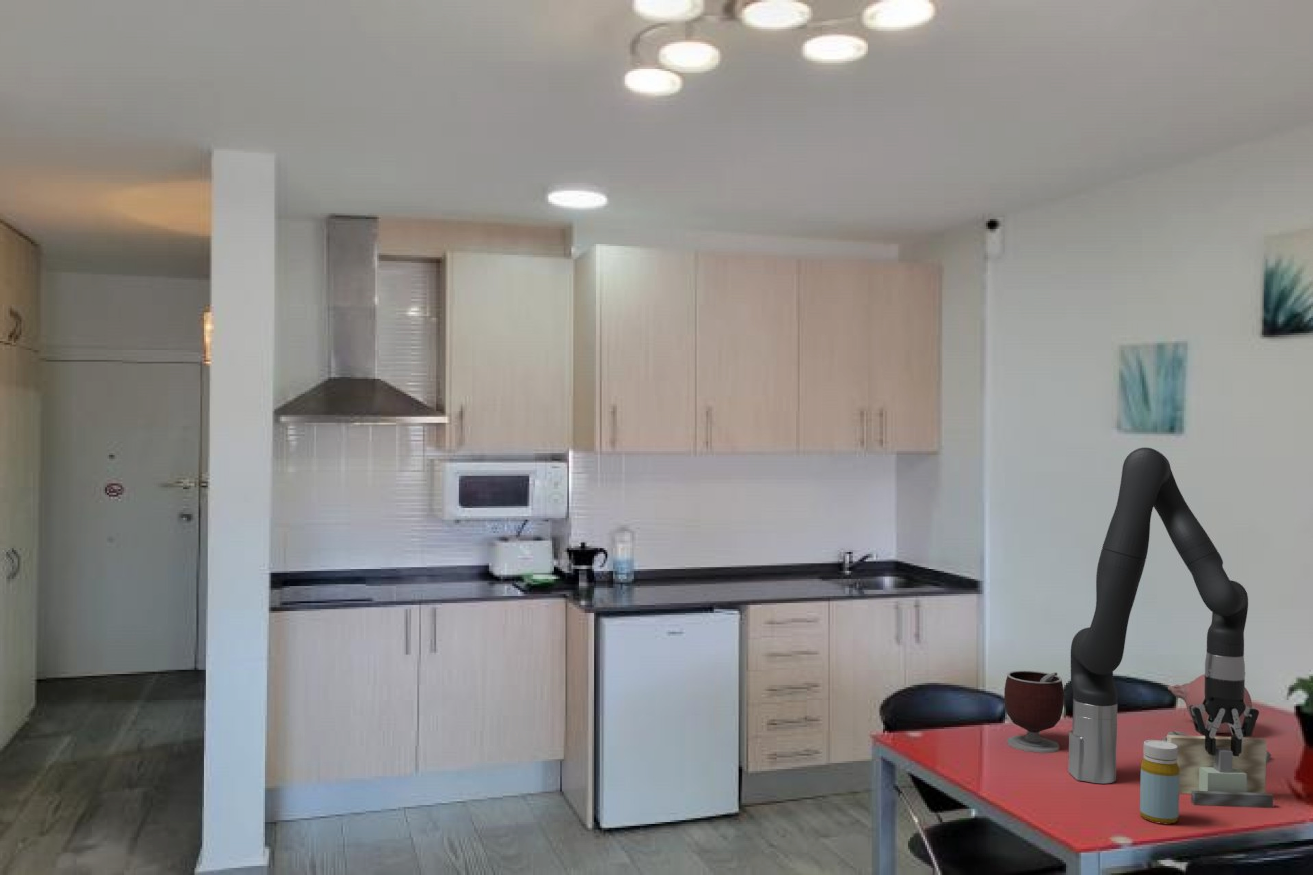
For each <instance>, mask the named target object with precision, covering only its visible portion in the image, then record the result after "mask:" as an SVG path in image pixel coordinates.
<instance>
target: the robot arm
mask: <svg viewBox="0 0 1313 875" xmlns="http://www.w3.org/2000/svg"><path fill="white" fill-rule="evenodd" d="M1171 468H1172V467H1171V465H1170V462H1169V460H1168V458H1167V457H1166V456H1165V455H1164V454H1163V453H1161V452H1160V451H1158V450H1157V449H1154V448H1151V447H1139V448H1137V449H1134V450H1133V451H1131V452H1130V453H1129V454H1128V455H1127V456H1126V457H1125V459H1124V461H1123V464H1122V470H1121V471H1122V472H1121V478H1120V483H1119V484H1120V485H1119V491H1118V496H1117V502H1116V506H1115V510H1114V512H1113V514H1112V517H1111V520H1110V522H1109V525H1108V529H1107V532H1106V534H1105V539H1104V541H1103V544H1102V546H1101V547H1102V548H1101V550H1100V553H1099V554H1100V556H1099V557H1098V563H1097V567H1096V576H1095V577H1096V579H1095V581H1096V582H1095V584H1096V585H1095V586H1096V587H1095V588H1096V589H1095V590H1096V592H1095V595H1096V599H1095V601H1096V602H1095V610H1094V614H1093V617H1092V620H1091V623H1090V626H1089V627H1085V628H1082V629H1080V630H1079V631H1078V632H1076V634H1075V635H1074V637H1072V638H1073V639H1072V642H1071V646H1070V683H1071V687H1072V693H1073V694H1072V729H1071V730H1069V731H1068V732H1069V733H1068V773H1069V774H1070V775H1071V776H1072V777H1073V778H1075V780H1076V781H1083V782H1087V783H1092V784H1111V783H1112V784H1113V783H1114V782H1116V781H1117V748H1118V747H1117V746H1118V745H1117V739H1118V738H1117V737H1118V736H1117V735H1118V731H1117V730H1118V697H1119V696H1118V695H1119V694H1118V690H1117V688H1116V685H1115V681H1114V671H1115V670H1116V669H1117V668H1118V667H1119V666H1120V664H1121V662H1122V660H1123V657H1124V653H1125V644H1126V637H1127V630H1128V627H1129V626H1128V624H1129V621H1130V615H1131V611H1132V609H1133V606H1134V602H1135V600H1136V595H1137V593H1138V588H1139V585H1140V581H1141V578H1142V575H1143V572H1144V569H1145V565H1146V562H1147V558H1148V557H1147V556H1148V550H1149V544H1150V535H1151V534H1150V533H1151V531H1150V530H1151V519H1152V513H1153V509H1154V510H1155V511H1156V512H1157V514H1158V516H1159V518H1160V520H1161V521H1162V523H1163V525H1164V528H1165V529H1166V532H1167V533H1168V536H1169V538H1170V539H1171V542H1172V544H1173V546H1174V548H1175V549H1176V551H1177V553H1178V554H1179V556H1180V558H1181V559H1182V561H1183V563H1184V564H1185V566H1186V568H1187V570H1188V571H1189V572H1190V574H1191V576H1192V579H1193V580H1194V581H1193V582H1194V584H1195V586H1196V589H1197V591H1198V593H1199V596H1200V598H1201V600H1202V602H1203V603H1204V605H1205V607H1207V608H1208V610H1209V611H1211V612H1212V614H1211V622H1210V626H1209V627H1208V629H1207V634H1206V654H1205V656H1206V657H1205V662H1204V674H1205V690H1204V693H1205V699H1204V701H1203V703H1202V704H1201V705H1197V706H1194V705H1191V706H1190V707H1189V709H1190V712H1191V716H1192V717H1191V716H1190V717H1191V719H1192V722H1193V726H1194V729H1195V731H1196V732H1197V733H1199V734H1200V735H1201V736H1205V750H1206V751H1207V752H1208V754H1210V755H1211V756H1215V754H1216V739H1215V738H1214V737H1216V735H1217V733H1216V731H1217V729H1218V728H1219V727H1220V724H1221V723H1228V725H1229V726H1230V729H1231V732H1230V733H1231V735H1232V736H1230V737H1231V751H1232V752H1233V756H1239V754H1241V752H1242V738H1243V737H1246V738H1247V737H1251V736H1252V734H1253V732H1254V728H1255V726H1256V723H1257V720H1258V717H1259V714H1260V711H1259V709H1256V708H1255V707H1253V706H1252V707H1247V706H1246V705H1245V703H1244V689H1245V688H1246V687H1245V683H1246V682H1245V679H1246V678H1245V677H1246V665H1245V656H1244V655H1245V635H1244V634H1245V628H1246V623H1247V618H1248V610H1249V596H1248V592H1247V590H1246V588H1245V587H1244V586H1243V585H1242V584H1241V583H1240V582H1237V581H1236V580H1230V578H1229V577H1228V574H1227V572H1226V570H1225V569H1224V566H1223V565H1224V561H1223V558H1222V556H1221V554H1220V553H1219V551H1218V549H1217V547H1216V546H1215V544H1214V543H1213V541H1212V539H1211V538H1210V536H1209V535H1208V534H1207V532H1206V530H1205V529H1204V527H1203V526H1202V525H1201V523H1200V522H1199V520H1198V518H1197V517H1196V516H1195V514H1194V513H1193V511H1192V510H1191V508H1190V507H1189V505H1188V504H1187V502H1186V501H1185V498H1184V497H1183V494H1182V493H1181V491H1180V489H1179V487H1178V484H1177V482H1176V479H1175V477H1174V474H1173V471H1172V469H1171ZM1204 710H1205V711H1206V712H1207V714H1208V717H1207V720H1206V727H1205V725H1204V722H1203V718H1202V715H1203V714H1204V713H1203V711H1204ZM1243 712H1244V715H1245V718H1244V721H1243V724H1242V727H1241V723H1240V720H1239V717H1240V716H1241V715H1242V713H1243Z"/></svg>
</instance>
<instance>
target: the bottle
mask: <svg viewBox="0 0 1313 875" xmlns="http://www.w3.org/2000/svg"><path fill="white" fill-rule="evenodd" d="M1142 751H1143V758H1142V762H1141V764H1140V785H1139V786H1140V790H1139V792H1140V794H1139V795H1140V797H1139V813H1140V816H1142V818H1143V819H1144V818H1146V819H1147V820H1146V819H1145V820H1146V821H1148V820H1151V821H1153V822H1160V823H1167V824H1166V825H1171V824H1170V823H1173V824H1175V823H1177V821H1178V820H1179V814H1180V813H1179V812H1180V810H1179V809H1180V793H1179V767H1178V764H1177V753H1178V747H1177V745H1175V744H1173V743H1170V742H1166V741H1162V740H1159V739H1148V740H1144V741H1143V749H1142ZM1153 822H1152V823H1153Z"/></svg>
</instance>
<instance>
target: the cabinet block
mask: <svg viewBox="0 0 1313 875" xmlns="http://www.w3.org/2000/svg"><path fill="white" fill-rule="evenodd" d="M1232 760H1233V752H1232V751H1231V750H1229V749H1227V748H1225V747H1216V754H1215V756H1214V765H1213V767H1199V791H1220V792H1246V788H1247V774H1246V773H1244V772H1243V771H1241V770H1240V769H1238V768H1232Z"/></svg>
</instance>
